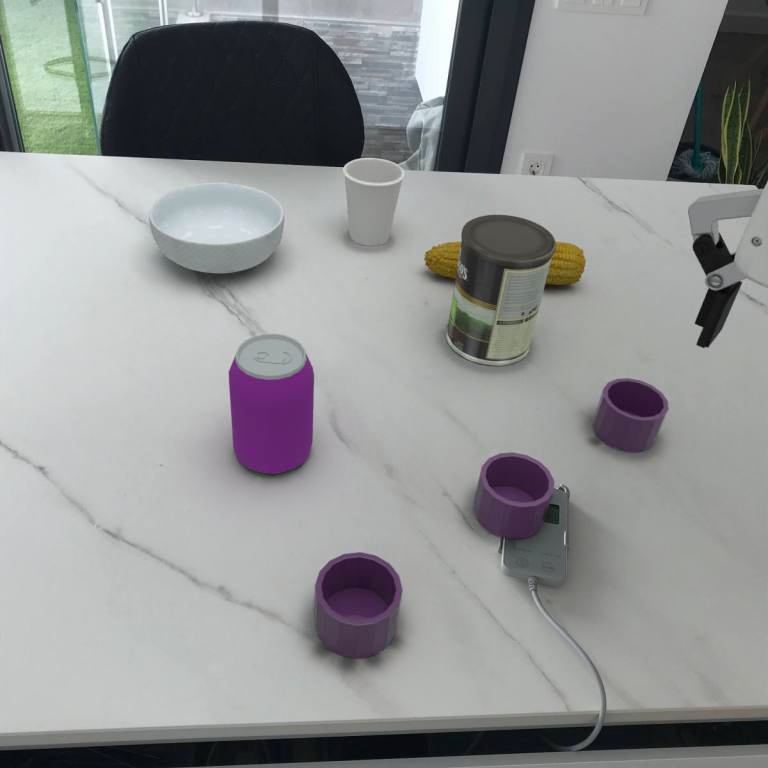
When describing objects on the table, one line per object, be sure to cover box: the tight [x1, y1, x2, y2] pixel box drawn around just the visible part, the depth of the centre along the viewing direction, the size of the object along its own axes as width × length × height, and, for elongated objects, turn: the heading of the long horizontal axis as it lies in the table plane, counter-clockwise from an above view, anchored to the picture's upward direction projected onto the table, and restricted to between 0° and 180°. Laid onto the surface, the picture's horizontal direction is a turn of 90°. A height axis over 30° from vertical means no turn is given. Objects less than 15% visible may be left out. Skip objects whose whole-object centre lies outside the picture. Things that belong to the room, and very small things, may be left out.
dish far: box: [592, 377, 670, 453], centre depth 81 cm, size 7×7×4 cm
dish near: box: [313, 551, 403, 659], centre depth 61 cm, size 7×7×4 cm
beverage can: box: [228, 333, 315, 475], centre depth 72 cm, size 8×8×12 cm
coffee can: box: [445, 214, 557, 367], centre depth 89 cm, size 10×10×14 cm
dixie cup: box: [342, 157, 406, 247], centre depth 108 cm, size 8×8×10 cm
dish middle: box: [472, 451, 555, 540], centre depth 71 cm, size 7×7×4 cm
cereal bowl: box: [148, 181, 285, 274], centre depth 101 cm, size 17×17×7 cm
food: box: [423, 240, 587, 286], centre depth 102 cm, size 21×6×6 cm, turn 92°
